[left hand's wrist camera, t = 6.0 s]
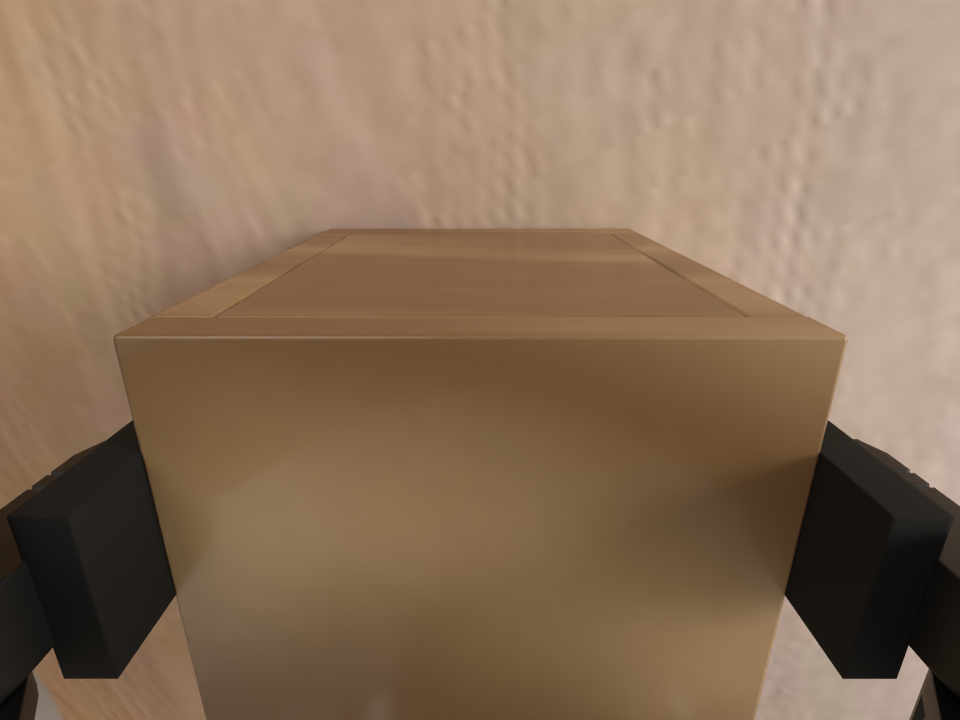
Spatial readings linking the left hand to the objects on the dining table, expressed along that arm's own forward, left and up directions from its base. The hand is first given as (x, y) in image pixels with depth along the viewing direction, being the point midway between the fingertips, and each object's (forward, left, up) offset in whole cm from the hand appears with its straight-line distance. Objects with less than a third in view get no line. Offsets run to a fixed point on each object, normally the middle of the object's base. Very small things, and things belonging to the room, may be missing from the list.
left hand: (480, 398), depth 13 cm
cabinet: (+5, +1, -7) cm, 8 cm away
